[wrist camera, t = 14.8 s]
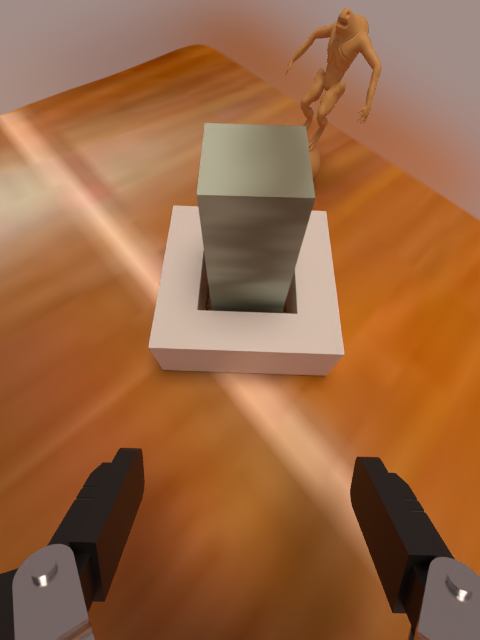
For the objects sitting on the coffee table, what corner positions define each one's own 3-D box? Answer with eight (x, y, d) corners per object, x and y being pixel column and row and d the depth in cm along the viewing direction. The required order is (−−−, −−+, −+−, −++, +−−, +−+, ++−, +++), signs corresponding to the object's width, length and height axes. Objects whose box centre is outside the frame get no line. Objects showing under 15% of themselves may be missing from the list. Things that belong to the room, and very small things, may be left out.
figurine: (249, 167, 31) (258, -1, 20) (295, 144, 32) (325, -22, 22) (309, 217, 28) (356, 52, 17) (355, 189, 29) (424, 23, 19)
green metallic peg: (214, 329, 23) (196, 194, 12) (217, 278, 25) (204, 123, 14) (276, 331, 23) (315, 198, 12) (274, 279, 25) (306, 125, 14)
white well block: (162, 369, 21) (148, 347, 17) (181, 243, 26) (173, 205, 22) (325, 375, 21) (344, 354, 18) (313, 247, 26) (325, 211, 23)
